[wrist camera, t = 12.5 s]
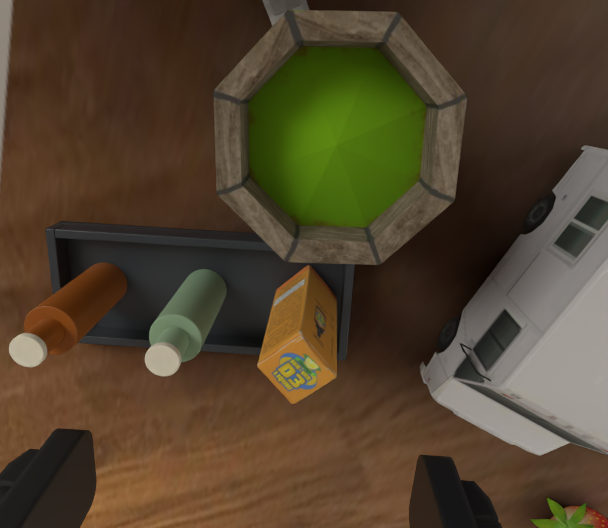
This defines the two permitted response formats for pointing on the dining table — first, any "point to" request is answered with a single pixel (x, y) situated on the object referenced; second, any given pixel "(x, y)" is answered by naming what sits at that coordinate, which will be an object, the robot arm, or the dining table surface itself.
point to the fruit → (572, 517)
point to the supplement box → (301, 336)
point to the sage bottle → (185, 322)
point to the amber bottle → (68, 314)
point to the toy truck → (538, 326)
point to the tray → (173, 272)
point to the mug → (337, 135)
